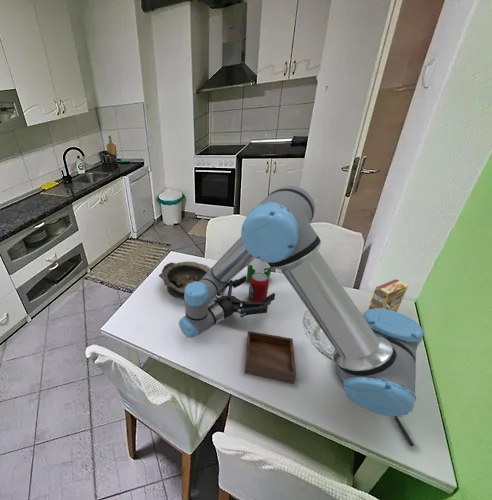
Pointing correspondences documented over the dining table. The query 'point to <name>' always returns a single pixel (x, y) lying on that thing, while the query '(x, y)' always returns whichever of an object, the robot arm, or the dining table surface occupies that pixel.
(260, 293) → the beverage can
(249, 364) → the holder
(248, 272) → the milk carton
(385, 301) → the candy box
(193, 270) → the stone bowl
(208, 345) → the dining table surface
